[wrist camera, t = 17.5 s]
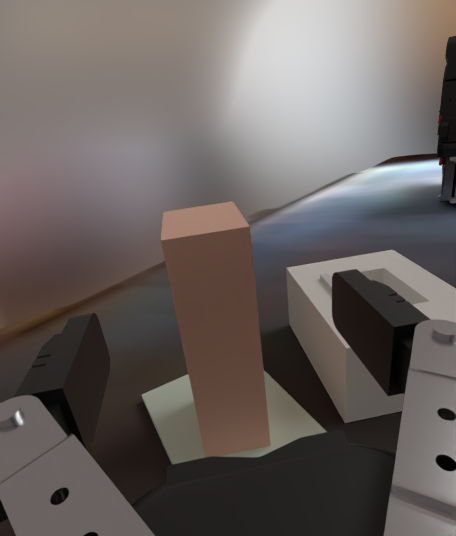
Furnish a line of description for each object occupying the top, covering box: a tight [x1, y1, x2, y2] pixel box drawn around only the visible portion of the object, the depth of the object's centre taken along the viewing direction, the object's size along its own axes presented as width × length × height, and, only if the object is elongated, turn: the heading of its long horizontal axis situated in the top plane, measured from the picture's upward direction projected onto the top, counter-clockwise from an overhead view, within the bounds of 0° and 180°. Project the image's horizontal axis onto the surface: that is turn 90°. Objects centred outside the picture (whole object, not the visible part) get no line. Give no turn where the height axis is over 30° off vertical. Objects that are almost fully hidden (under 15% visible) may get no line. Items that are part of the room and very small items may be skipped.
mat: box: [142, 370, 327, 464], centre depth 24 cm, size 9×12×1 cm
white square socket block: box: [286, 250, 456, 423], centre depth 28 cm, size 12×10×6 cm
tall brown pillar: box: [161, 202, 271, 457], centre depth 21 cm, size 5×4×14 cm
